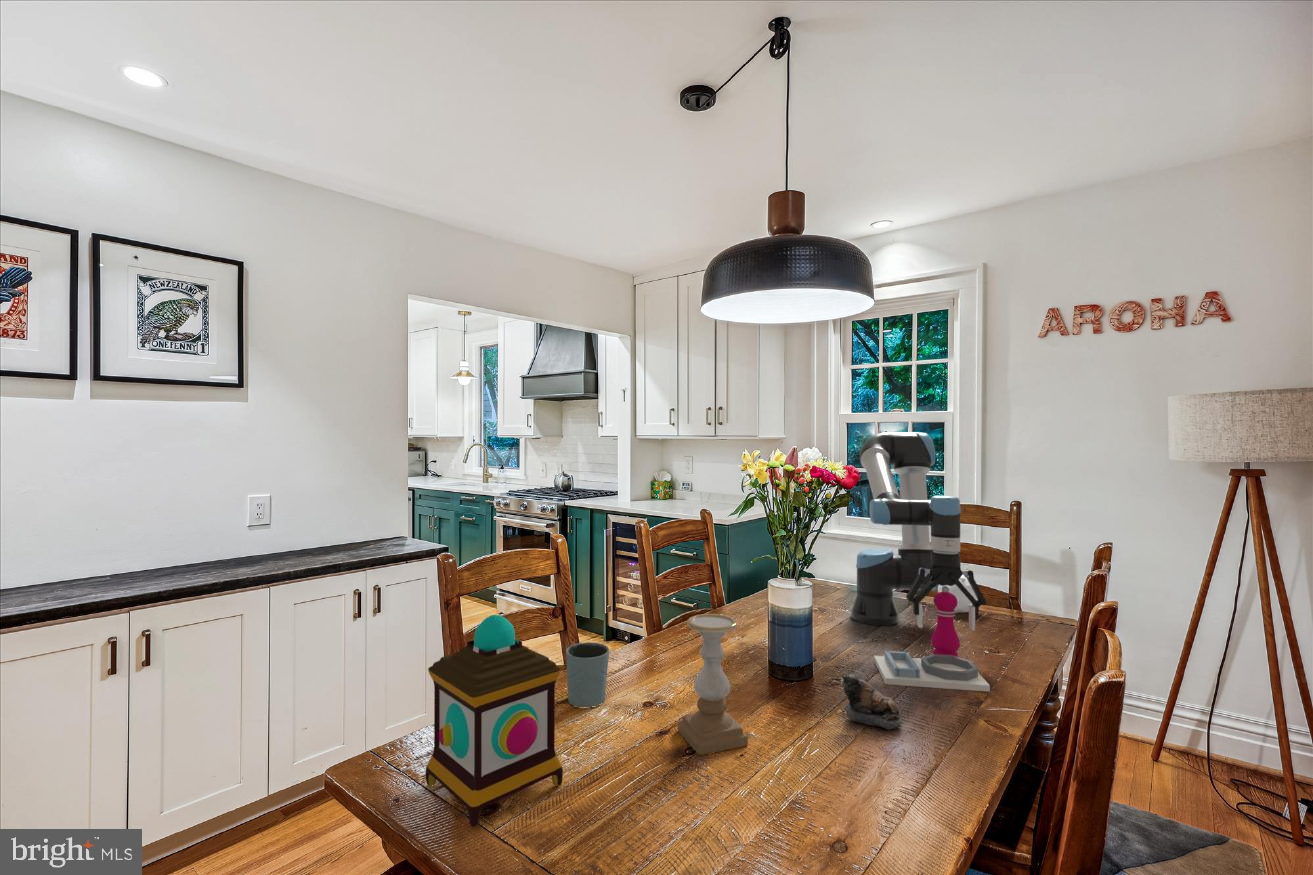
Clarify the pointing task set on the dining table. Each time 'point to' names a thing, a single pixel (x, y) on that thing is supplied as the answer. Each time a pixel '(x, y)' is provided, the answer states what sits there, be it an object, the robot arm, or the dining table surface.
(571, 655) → the blue grey cup
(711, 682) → the candle holder
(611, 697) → the dining table surface
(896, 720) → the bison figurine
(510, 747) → the decorative lantern
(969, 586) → the geodesic sphere
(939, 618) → the pepper mill
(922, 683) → the holder board
